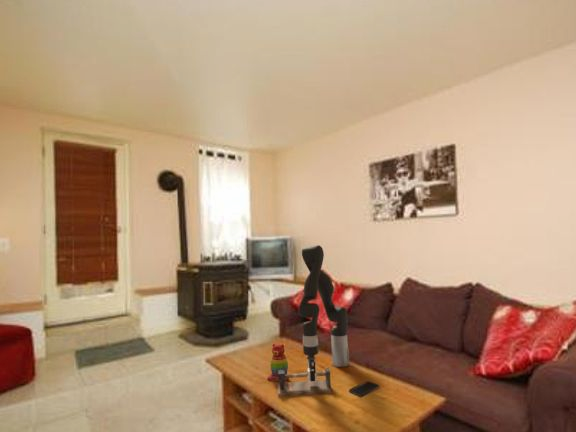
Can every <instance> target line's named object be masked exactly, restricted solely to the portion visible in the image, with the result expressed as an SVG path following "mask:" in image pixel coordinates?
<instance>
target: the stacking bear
mask: <svg viewBox="0 0 576 432" xmlns="http://www.w3.org/2000/svg"><path fill="white" fill-rule="evenodd" d="M271 353H272V356H271V359H270V371H271V374H269V375H268V376H267V378H266V379H267V381H269V380H276V381H275V382H278V381H279V377H278V371H279V370H284V373H285V375H287V374H288V368H289V363H288V360H287V357H286V354H285V345H284V344H283V343H282V344H281V343H276V344H275V343H274V344H272V348H271ZM288 379H289V378H285V381H286V382H287V381H288Z"/></svg>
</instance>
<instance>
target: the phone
mask: <svg viewBox="0 0 576 432" xmlns="http://www.w3.org/2000/svg"><path fill="white" fill-rule="evenodd" d="M379 388H380V385H379V384H377V383H375V382H372V381H365V382H362V383H360V384H358V385H356V386H354V387H352V388H350V389H348V392H349V393H350V394H352V395H355V396H357V397H358V398H361V397H364V396H365V395H368V394H370V393H372V392H374V391H376V390H377V389H379Z"/></svg>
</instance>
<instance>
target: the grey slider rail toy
mask: <svg viewBox="0 0 576 432" xmlns="http://www.w3.org/2000/svg"><path fill="white" fill-rule="evenodd" d="M316 373H317V377H324V376H325V379H323V380H321V379H319V380H318V379H317V382H309V381H308V380H306V381H292V382H291V381H290V382H287V381H286V382H285V378H288V379H292V378H308V373H307V372H305V373H289V374H288V373H287V375H285V373H284V370H279V371H278V377H279V382H277V395H278V398H285V397H299V396H314V395H327V394H328V395H330V394H333V388H332V385H331V371H330V368H329V367H325V368H324V371H323V372H319V371H318V372H316Z"/></svg>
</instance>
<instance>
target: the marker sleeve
mask: <svg viewBox="0 0 576 432" xmlns="http://www.w3.org/2000/svg"><path fill="white" fill-rule="evenodd" d="M306 371H307V372H306V373H308V377H307V381H309V382H317V381H318V379H317V378H318V376H317V373H318V372H317V368H315V371H316V373H315V381H311V380H310V368H308V367H307V368H306ZM311 371H314V369H312V370H311Z"/></svg>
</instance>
